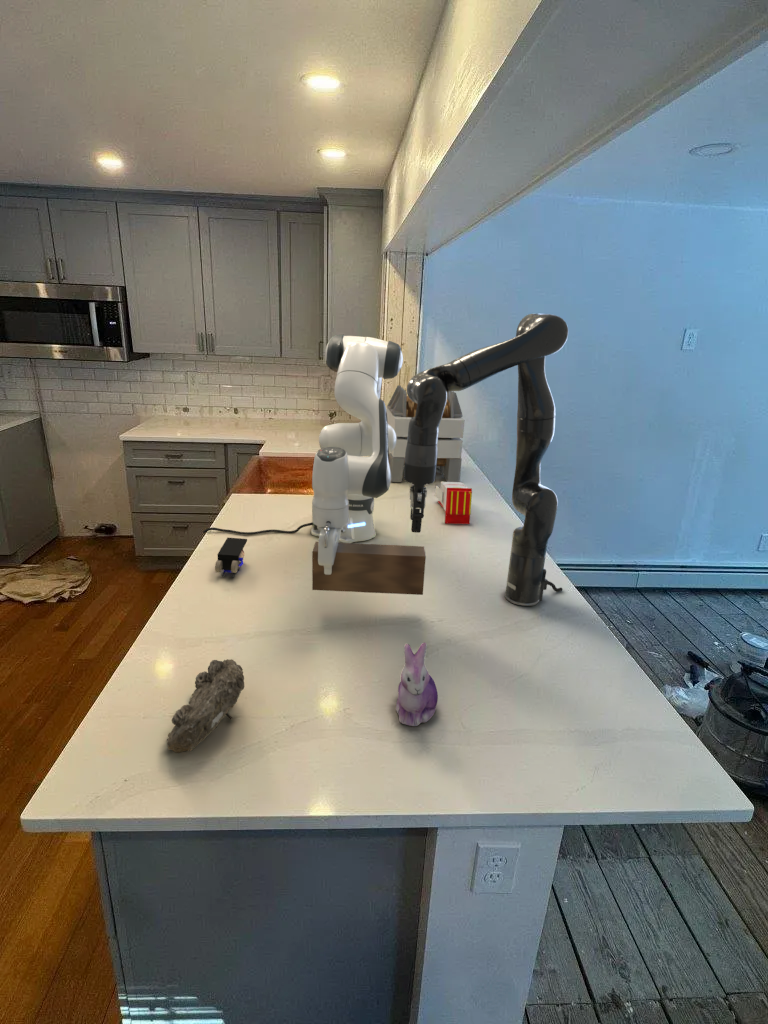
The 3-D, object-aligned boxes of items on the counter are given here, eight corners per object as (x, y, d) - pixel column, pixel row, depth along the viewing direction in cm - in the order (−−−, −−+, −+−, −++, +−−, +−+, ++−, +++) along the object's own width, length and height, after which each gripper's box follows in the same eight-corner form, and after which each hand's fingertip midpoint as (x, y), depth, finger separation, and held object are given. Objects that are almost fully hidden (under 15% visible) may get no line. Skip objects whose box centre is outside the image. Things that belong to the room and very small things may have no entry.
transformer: (382, 463, 289) (386, 382, 275) (445, 464, 293) (451, 384, 279) (390, 482, 257) (394, 392, 243) (460, 483, 261) (468, 394, 247)
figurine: (408, 735, 105) (412, 667, 100) (382, 702, 114) (386, 638, 109) (450, 721, 110) (457, 654, 105) (423, 690, 118) (428, 627, 113)
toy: (463, 477, 236) (476, 489, 206) (461, 509, 239) (474, 525, 209) (433, 476, 235) (443, 488, 206) (432, 508, 238) (441, 524, 209)
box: (312, 590, 141) (312, 551, 138) (315, 578, 147) (315, 541, 143) (422, 595, 141) (425, 556, 138) (421, 583, 147) (424, 546, 143)
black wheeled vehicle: (238, 584, 162) (249, 557, 175) (236, 562, 158) (247, 536, 172) (215, 584, 161) (227, 556, 175) (212, 561, 158) (225, 535, 171)
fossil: (192, 660, 117) (244, 628, 112) (224, 691, 120) (276, 661, 115) (142, 746, 98) (202, 712, 93) (182, 779, 101) (242, 748, 96)
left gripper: (339, 531, 128) (338, 586, 133) (346, 502, 147) (345, 550, 152) (311, 530, 128) (311, 585, 133) (322, 501, 147) (322, 549, 152)
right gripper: (438, 470, 126) (432, 537, 132) (434, 455, 140) (428, 516, 145) (405, 468, 126) (400, 535, 132) (404, 453, 140) (399, 514, 145)
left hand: (329, 566), depth 142 cm, fingers closed on box, 6 cm apart
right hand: (415, 525), depth 139 cm, fingers open, 8 cm apart
